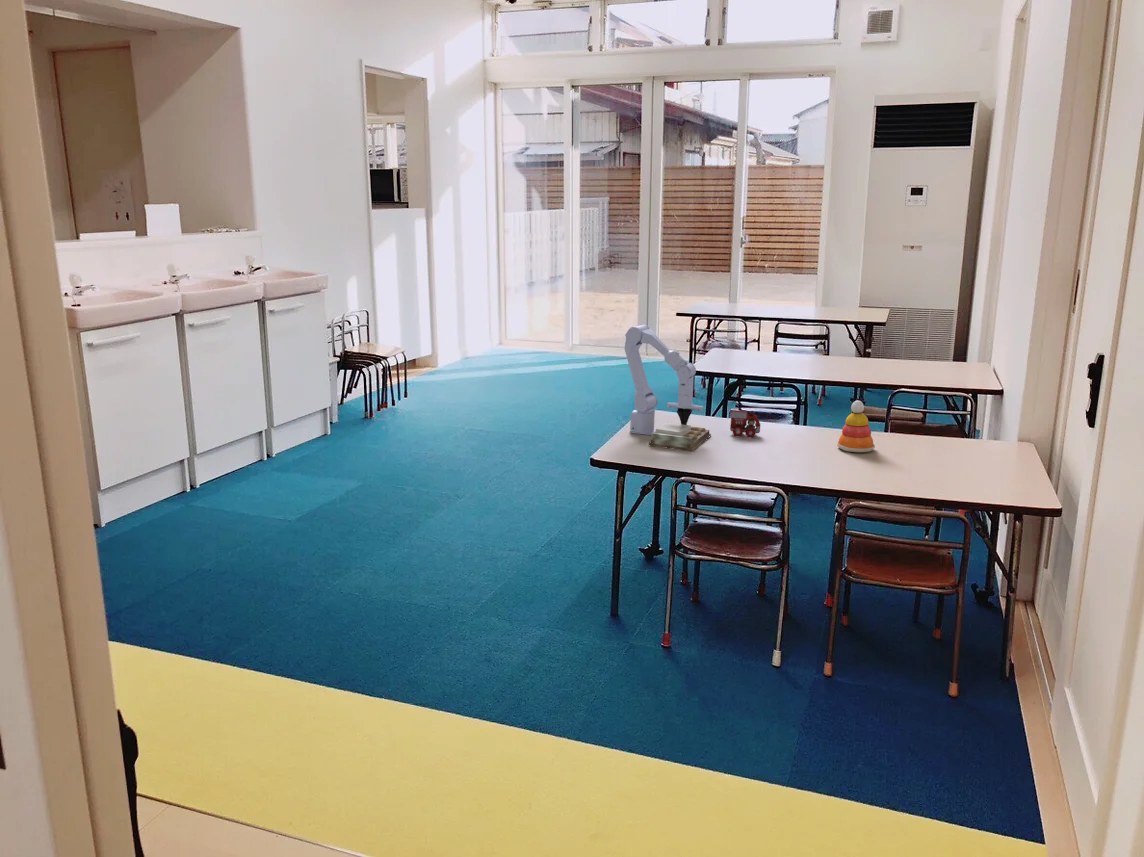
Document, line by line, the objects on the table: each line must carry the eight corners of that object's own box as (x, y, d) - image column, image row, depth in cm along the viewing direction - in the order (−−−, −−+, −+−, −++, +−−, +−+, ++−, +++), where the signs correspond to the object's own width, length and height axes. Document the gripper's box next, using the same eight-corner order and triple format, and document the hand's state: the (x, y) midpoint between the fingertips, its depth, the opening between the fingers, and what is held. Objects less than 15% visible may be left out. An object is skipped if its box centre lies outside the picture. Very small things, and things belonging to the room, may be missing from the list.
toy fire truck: (759, 438, 362) (761, 413, 359) (728, 436, 364) (730, 411, 361) (759, 434, 369) (761, 409, 366) (729, 432, 371) (730, 408, 368)
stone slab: (655, 434, 351) (655, 428, 351) (667, 428, 361) (667, 422, 361) (679, 438, 347) (679, 432, 346) (690, 431, 357) (690, 425, 356)
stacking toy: (870, 445, 354) (874, 397, 349) (878, 455, 341) (883, 405, 336) (833, 443, 356) (837, 395, 351) (840, 453, 342) (844, 404, 337)
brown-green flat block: (648, 445, 349) (648, 433, 348) (668, 430, 372) (669, 419, 370) (692, 451, 342) (693, 438, 341) (710, 436, 364) (711, 424, 363)
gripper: (705, 393, 357) (704, 426, 360) (671, 390, 362) (669, 422, 366) (700, 397, 350) (699, 430, 354) (665, 393, 356) (664, 426, 360)
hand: (683, 427), depth 359 cm, fingers closed
